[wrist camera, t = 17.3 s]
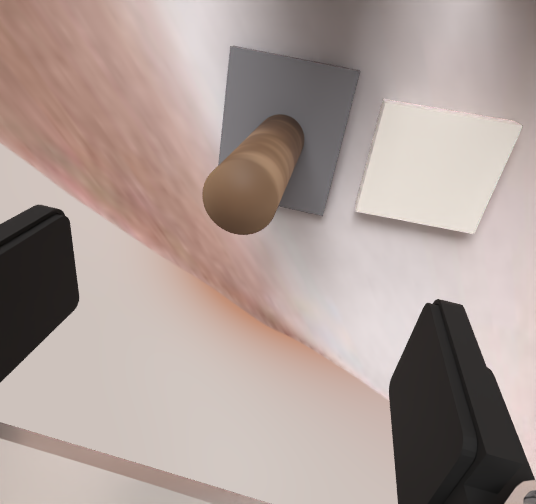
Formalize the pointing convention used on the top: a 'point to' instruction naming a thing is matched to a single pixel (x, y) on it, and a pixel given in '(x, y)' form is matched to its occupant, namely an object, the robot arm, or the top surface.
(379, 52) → the top surface
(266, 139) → the dowel
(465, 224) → the tile
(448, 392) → the robot arm
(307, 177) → the mat
